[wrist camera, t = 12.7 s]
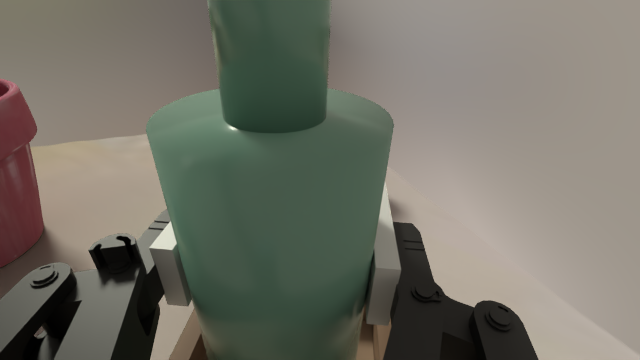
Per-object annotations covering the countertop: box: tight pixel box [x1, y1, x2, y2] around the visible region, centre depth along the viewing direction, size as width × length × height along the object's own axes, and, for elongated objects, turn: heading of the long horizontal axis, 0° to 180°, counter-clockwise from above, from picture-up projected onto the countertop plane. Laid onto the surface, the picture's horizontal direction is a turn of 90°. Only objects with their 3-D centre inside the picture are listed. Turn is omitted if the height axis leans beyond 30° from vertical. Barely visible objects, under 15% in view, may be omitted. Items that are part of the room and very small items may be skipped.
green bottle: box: [146, 0, 394, 360], centre depth 11 cm, size 6×6×18 cm
